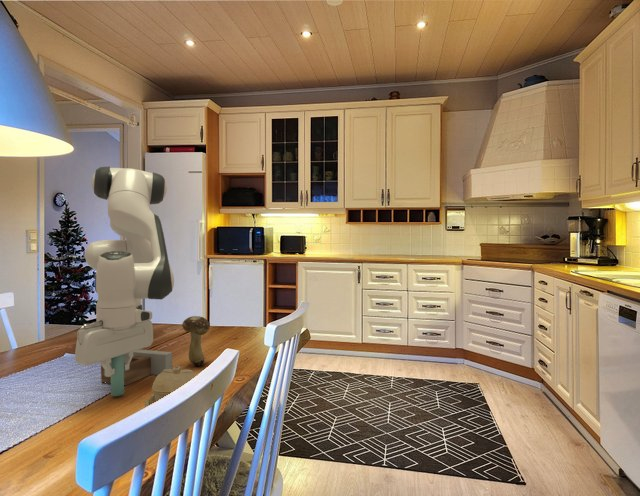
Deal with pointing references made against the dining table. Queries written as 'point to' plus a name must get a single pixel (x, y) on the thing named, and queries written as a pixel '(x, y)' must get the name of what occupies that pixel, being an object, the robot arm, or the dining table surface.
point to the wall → (157, 360)
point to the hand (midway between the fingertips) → (117, 373)
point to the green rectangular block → (117, 376)
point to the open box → (132, 370)
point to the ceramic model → (169, 382)
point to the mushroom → (196, 337)
